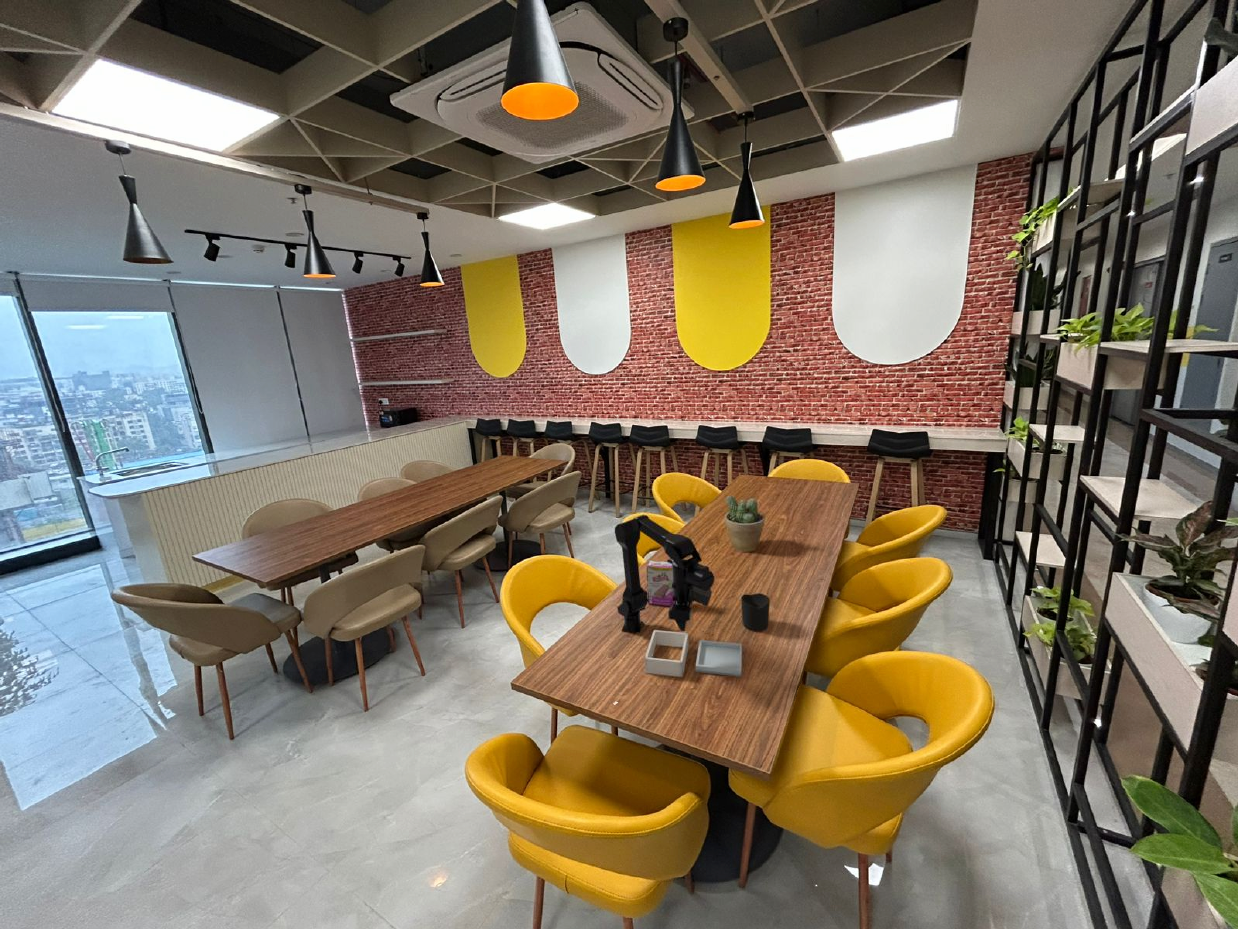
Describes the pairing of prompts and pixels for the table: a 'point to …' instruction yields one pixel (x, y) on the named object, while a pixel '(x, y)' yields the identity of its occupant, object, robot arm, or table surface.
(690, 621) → the ball
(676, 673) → the grey rectangular frame
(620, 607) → the robot arm
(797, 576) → the table surface
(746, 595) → the pen holder
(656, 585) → the candy bar box
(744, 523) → the potted plant
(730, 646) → the tray
